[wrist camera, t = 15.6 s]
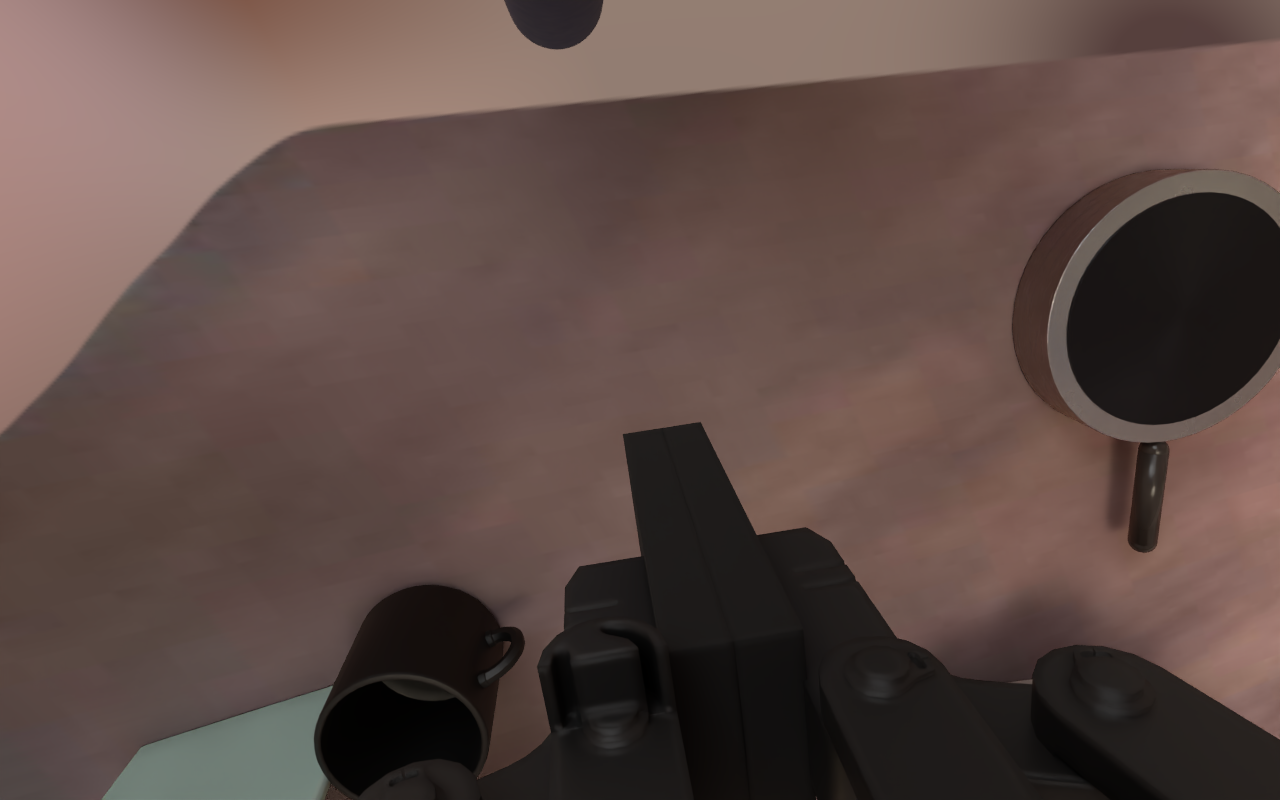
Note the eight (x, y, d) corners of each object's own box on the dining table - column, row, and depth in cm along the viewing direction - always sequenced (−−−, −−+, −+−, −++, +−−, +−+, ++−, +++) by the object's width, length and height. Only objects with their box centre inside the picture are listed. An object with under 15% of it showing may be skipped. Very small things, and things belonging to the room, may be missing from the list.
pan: (1019, 185, 42) (1058, 186, 39) (1278, 155, 43) (1339, 154, 40) (999, 546, 50) (1030, 574, 46) (1220, 515, 51) (1267, 540, 47)
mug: (562, 649, 49) (560, 750, 41) (409, 723, 50) (375, 837, 41) (492, 541, 46) (473, 625, 38) (330, 621, 47) (276, 722, 39)
